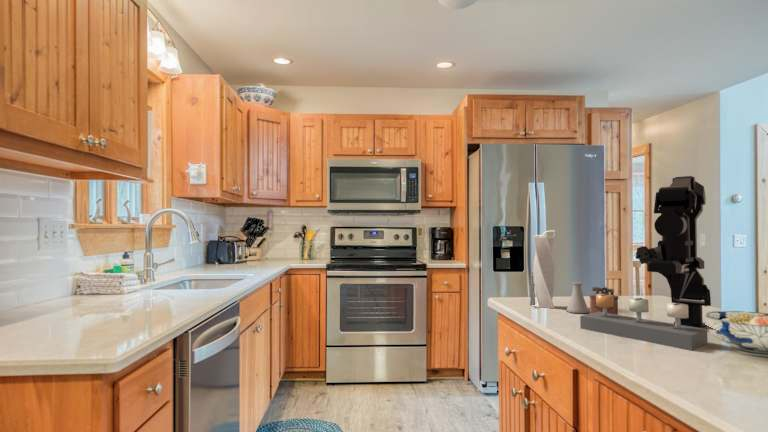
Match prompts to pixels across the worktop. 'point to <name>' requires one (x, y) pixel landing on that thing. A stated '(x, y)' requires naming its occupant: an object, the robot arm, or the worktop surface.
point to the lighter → (596, 308)
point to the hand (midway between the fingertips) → (677, 299)
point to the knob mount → (645, 330)
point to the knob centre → (638, 307)
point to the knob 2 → (677, 312)
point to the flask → (577, 300)
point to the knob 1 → (604, 302)
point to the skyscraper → (543, 272)
